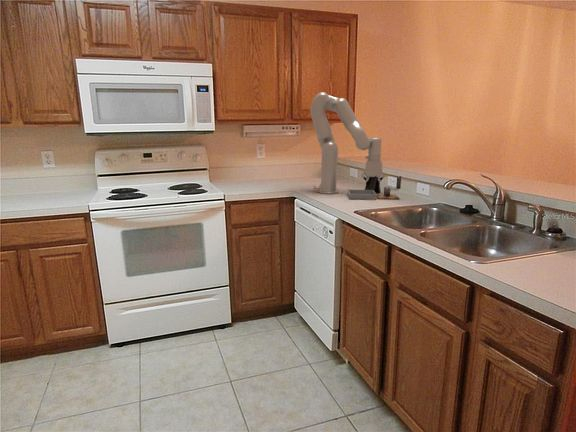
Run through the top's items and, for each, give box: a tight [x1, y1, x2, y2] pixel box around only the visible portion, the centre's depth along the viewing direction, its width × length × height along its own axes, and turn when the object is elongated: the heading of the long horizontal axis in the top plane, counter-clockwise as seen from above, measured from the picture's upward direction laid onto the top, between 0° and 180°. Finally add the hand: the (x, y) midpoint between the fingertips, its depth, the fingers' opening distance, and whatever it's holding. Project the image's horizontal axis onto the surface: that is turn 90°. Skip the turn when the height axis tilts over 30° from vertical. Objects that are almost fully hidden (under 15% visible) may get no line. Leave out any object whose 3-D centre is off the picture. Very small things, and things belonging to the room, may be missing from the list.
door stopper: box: [364, 176, 382, 194], centre depth 240 cm, size 9×6×12 cm, turn 131°
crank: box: [383, 175, 402, 196], centre depth 224 cm, size 10×4×12 cm, turn 55°
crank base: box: [377, 193, 400, 201], centre depth 227 cm, size 12×12×1 cm
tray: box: [347, 189, 378, 201], centre depth 228 cm, size 15×16×3 cm
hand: (372, 187), depth 241 cm, fingers closed on door stopper, 5 cm apart
